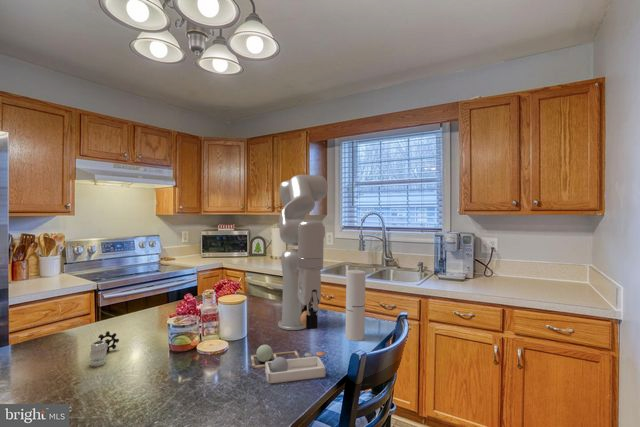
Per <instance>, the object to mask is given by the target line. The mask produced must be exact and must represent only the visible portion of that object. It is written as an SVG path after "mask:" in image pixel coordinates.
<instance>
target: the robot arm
mask: <svg viewBox="0 0 640 427" xmlns="http://www.w3.org/2000/svg"><path fill="white" fill-rule="evenodd" d="M328 188H329V187H328V181H327V179H326V178H325V177H324V176H323V175H319V174H318V175H313V174H312V175H311V174H296V175H294V176H292V177H291V178H290V180H284V181H282V182H280V184H279V188H278V189H279V190H278V191H279V198H280V201H281V204H282V209H281V211H280V214H279V219H278V226H279V229H278V230H279V237H280V240H281V241H282V242H283V243H285V244H287V245H289V246H293V247H294V246H296V247H297V248H290V249H286V250H284V251H283V252H282V254H281V256H280V262H281V270H282V271H281V272H282V300H281V301H282V304H281V305H282V306H281V308H282V309H281V311H282V312H281V319H280V320H279V321H278V323H277V324H278V327H279V328H280V329H283V330H287V331H301V330H304V329H306V330H317V329H318V317H319V316H318V315H319V314H318V313H319V312H318V310H319V305H320V304H321V301H322V276H321V270H324V249H325V248H324V247H325V246H324V242H325V241H324V239H325V235H326V227H325V225H324V223H323V222H322V221H321V220H319V219H318V220H317V219H306V216H307V214H310V213H311V212H312V211H313V210H314V208H315V206H316V202H320V201H321V200H323V199H325V198H326V197H327V194H328V190H329V189H328ZM306 310H307V314H308V315H306V327H305V326H304V325H303V324H302V323H301V315H302V313H303V312H304V311H306Z"/></svg>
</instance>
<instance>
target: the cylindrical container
mask: <svg viewBox="0 0 640 427" xmlns="http://www.w3.org/2000/svg"><path fill="white" fill-rule="evenodd" d="M366 274H367V273H366V271H365V270H362V269H361V270H360V269H348V270H347V271H346V280H345V281H346V283H345V285H346V286H345V288H346V290H345V291H346V294H345V328H344V329H345V331H344V332H345V339H346V340H349V341H353V342H360V341H363V340H364V339H365V321H366V320H365V318H366V317H365V316H366V315H365V314H366Z"/></svg>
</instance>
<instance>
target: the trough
mask: <svg viewBox="0 0 640 427" xmlns="http://www.w3.org/2000/svg"><path fill="white" fill-rule="evenodd" d="M286 360H287V362H288V370H287V371H284V372H275V373H272V371H271V363H272V361H273V360H271V361H270V360H269V361H267V362H264V364H265V367H264V371H265V376H266V380H267V384H270V385H271V384H276V383H278V384H279V383H284V382H292V381H293V382H294V381H300V380H302V381H303V380H309V379H317V378H324V377H326V366H325V365H324V363H323V361H322V360H321V358H320V357H319V356H318V355H316V356H312V357H306V356H305V357H300V358H297V357H296V358H287V359H286Z"/></svg>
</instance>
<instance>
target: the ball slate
mask: <svg viewBox="0 0 640 427" xmlns="http://www.w3.org/2000/svg"><path fill="white" fill-rule="evenodd" d="M276 357H277V358H275V359H274V358H273V360H271V361H272V363H271V371H272V373H275V372H284V371H287V370H288V362H287V359H286V358H284V357H283V356H276Z"/></svg>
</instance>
